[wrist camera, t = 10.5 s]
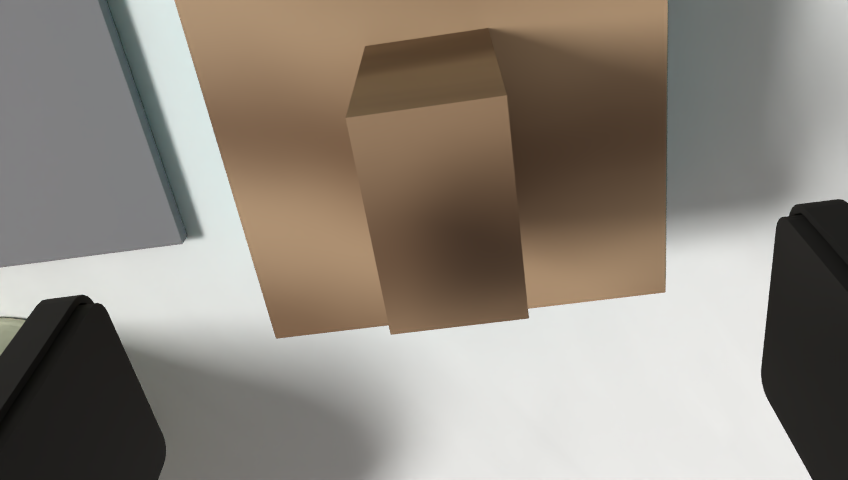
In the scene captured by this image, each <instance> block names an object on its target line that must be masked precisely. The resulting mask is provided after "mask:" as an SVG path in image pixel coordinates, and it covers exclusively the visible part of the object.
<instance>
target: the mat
mask: <svg viewBox="0 0 848 480" xmlns="http://www.w3.org/2000/svg"><path fill="white" fill-rule="evenodd" d="M186 237H187V234H186V231H185V228H184V225H183V222H182V219H181V216H180V213H179V211H178V208H177V205H176V202H175V199H174V196H173V193H172V190H171V187H170V184H169V181H168V178H167V176H166V173H165V170H164V167H163V164H162V161H161V158H160V155H159V152H158V149H157V146H156V143H155V140H154V138H153V135H152V132H151V129H150V126H149V123H148V120H147V117H146V114H145V111H144V108H143V105H142V103H141V100H140V97H139V94H138V91H137V88H136V85H135V82H134V79H133V76H132V73H131V70H130V67H129V65H128V62H127V59H126V56H125V53H124V50H123V47H122V44H121V41H120V38H119V35H118V32H117V30H116V27H115V24H114V21H113V18H112V15H111V12H110V9H109V6H108V3H107V0H0V267H7V266H15V265H23V264H31V263H38V262H46V261H54V260H61V259H69V258H77V257H85V256H92V255H100V254H108V253H115V252H123V251H131V250H139V249H146V248H154V247H162V246H170V245H177V244H183V242H184V240H185V239H186Z"/></svg>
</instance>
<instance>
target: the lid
mask: <svg viewBox="0 0 848 480" xmlns="http://www.w3.org/2000/svg"><path fill="white" fill-rule="evenodd" d="M175 4H176V7H177V10H178V14H179V17H180V20H181V24H182V27H183V30H184V34H185V37H186V40H187V44H188V47H189V50H190V54H191V57H192V60H193V63H194V67H195V70H196V73H197V77H198V80H199V83H200V87H201V90H202V93H203V97H204V100H205V103H206V107H207V110H208V113H209V117H210V120H211V123H212V127H213V130H214V133H215V137H216V140H217V143H218V147H219V150H220V153H221V157H222V160H223V163H224V167H225V170H226V173H227V177H228V180H229V183H230V187H231V190H232V193H233V197H234V200H235V203H236V207H237V210H238V213H239V217H240V220H241V223H242V227H243V230H244V233H245V237H246V240H247V243H248V247H249V250H250V253H251V257H252V260H253V263H254V267H255V270H256V273H257V277H258V280H259V283H260V287H261V290H262V293H263V297H264V300H265V303H266V307H267V310H268V313H269V317H270V320H271V323H272V327H273V330H274V333H275V337H276V338H285V337H293V336H302V335H310V334H319V333H327V332H335V331H344V330H352V329H361V328H369V327H377V326H386V325H389V329H390V333H391V334H400V333H408V332H417V331H425V330H434V329H442V328H451V327H459V326H468V325H476V324H485V323H493V322H502V321H510V320H519V319H527V318H529V315H528V309H529V308H537V307H546V306H554V305H563V304H571V303H579V302H588V301H596V300H605V299H613V298H621V297H630V296H638V295H647V294H655V293H664V292H665V284H666V156H667V29H668V0H175Z"/></svg>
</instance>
